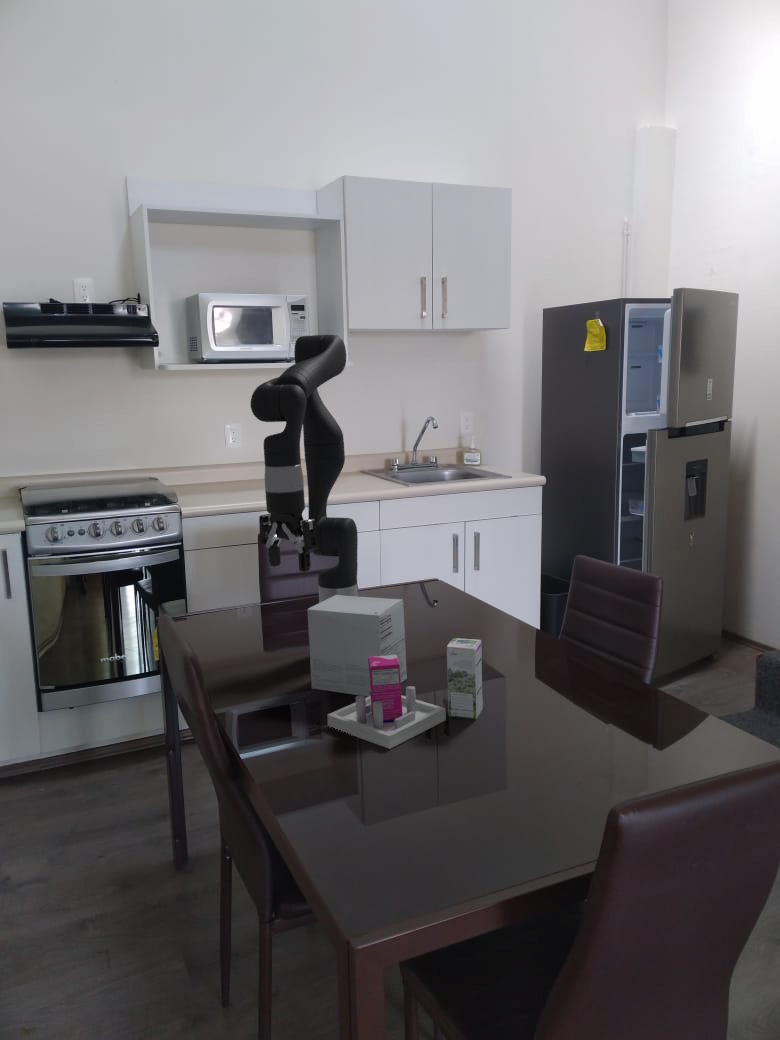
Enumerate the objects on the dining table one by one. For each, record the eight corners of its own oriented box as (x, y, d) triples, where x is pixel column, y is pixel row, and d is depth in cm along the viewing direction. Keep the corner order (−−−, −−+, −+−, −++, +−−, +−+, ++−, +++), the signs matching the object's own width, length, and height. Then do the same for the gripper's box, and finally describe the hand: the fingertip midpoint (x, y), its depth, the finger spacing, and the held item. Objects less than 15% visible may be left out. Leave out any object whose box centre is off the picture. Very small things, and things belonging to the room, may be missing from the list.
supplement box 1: (408, 678, 184) (405, 598, 181) (382, 700, 172) (379, 615, 169) (339, 669, 191) (335, 592, 188) (309, 689, 179) (305, 608, 176)
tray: (384, 701, 171) (383, 672, 170) (445, 720, 160) (445, 689, 159) (327, 726, 159) (326, 695, 158) (389, 748, 149) (388, 716, 148)
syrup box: (483, 708, 165) (482, 638, 163) (476, 720, 160) (475, 647, 157) (455, 706, 167) (453, 636, 165) (447, 717, 161) (445, 645, 159)
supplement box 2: (370, 712, 162) (367, 655, 160) (400, 710, 163) (398, 653, 161) (372, 724, 157) (369, 665, 155) (403, 722, 157) (401, 663, 155)
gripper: (323, 487, 162) (328, 568, 165) (274, 483, 171) (279, 560, 174) (295, 493, 156) (300, 577, 159) (246, 488, 165) (251, 567, 168)
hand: (289, 568), depth 167 cm, fingers open, 8 cm apart
